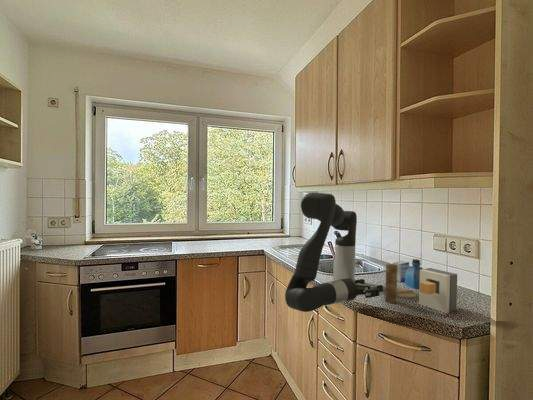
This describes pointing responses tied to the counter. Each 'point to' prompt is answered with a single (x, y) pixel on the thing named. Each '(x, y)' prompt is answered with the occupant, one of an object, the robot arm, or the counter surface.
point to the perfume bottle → (413, 274)
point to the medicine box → (401, 270)
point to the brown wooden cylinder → (391, 283)
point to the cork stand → (406, 293)
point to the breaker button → (427, 287)
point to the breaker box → (439, 290)
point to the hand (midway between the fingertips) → (372, 284)
